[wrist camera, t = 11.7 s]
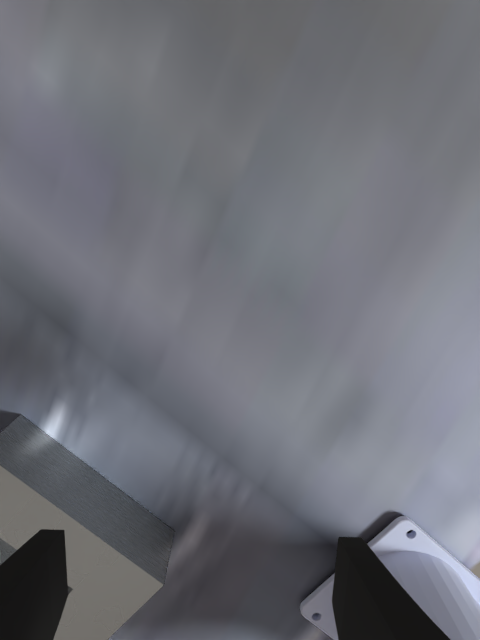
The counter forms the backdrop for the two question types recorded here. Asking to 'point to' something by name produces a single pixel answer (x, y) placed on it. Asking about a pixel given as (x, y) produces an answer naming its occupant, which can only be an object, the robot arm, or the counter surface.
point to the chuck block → (81, 531)
